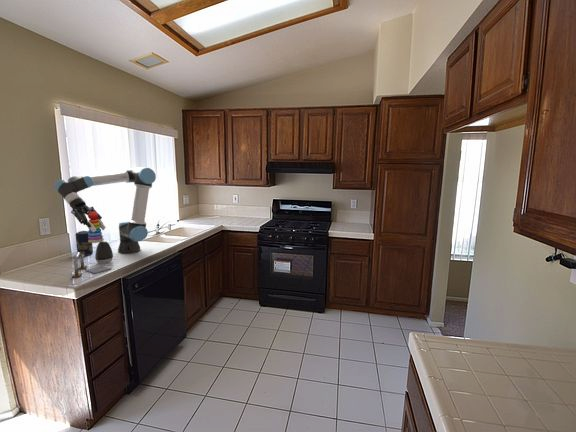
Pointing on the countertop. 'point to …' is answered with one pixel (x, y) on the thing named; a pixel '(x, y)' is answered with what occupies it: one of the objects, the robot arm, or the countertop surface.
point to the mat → (98, 269)
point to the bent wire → (77, 265)
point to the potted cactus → (103, 253)
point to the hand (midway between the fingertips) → (99, 229)
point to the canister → (83, 243)
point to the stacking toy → (97, 235)
